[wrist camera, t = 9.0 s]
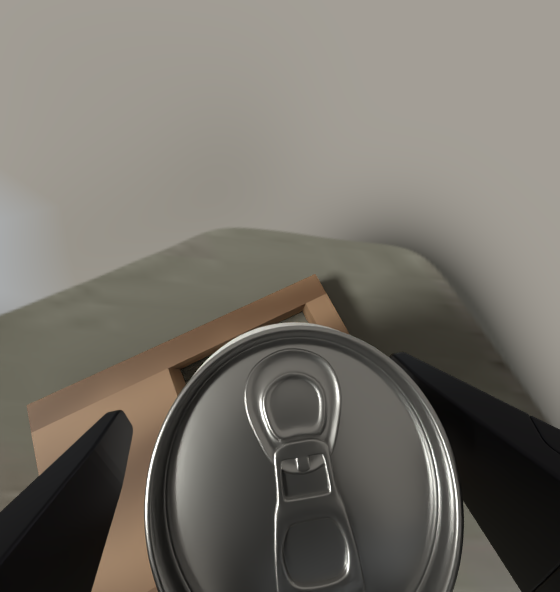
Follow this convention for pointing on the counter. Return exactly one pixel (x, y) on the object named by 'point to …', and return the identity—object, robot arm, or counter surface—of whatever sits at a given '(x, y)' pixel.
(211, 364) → the can
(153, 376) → the wooden tray frame
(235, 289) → the counter surface
